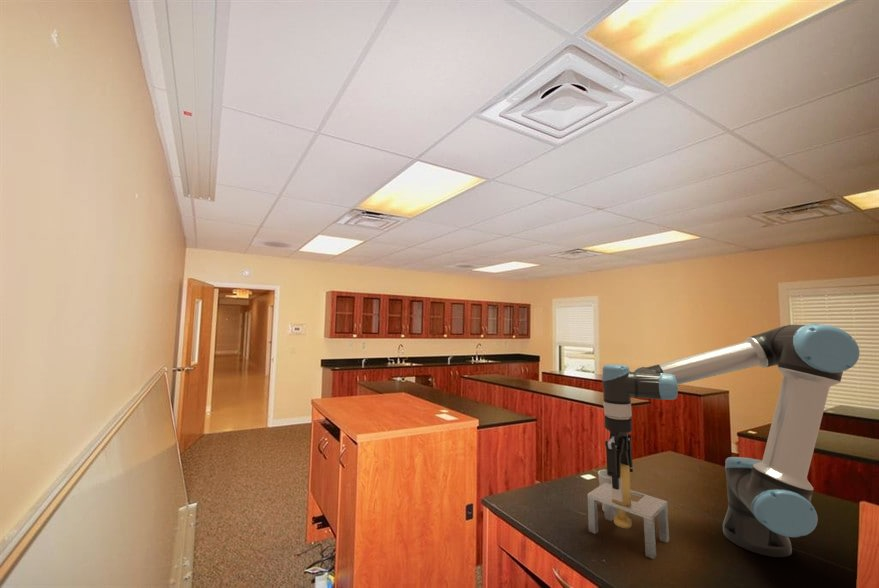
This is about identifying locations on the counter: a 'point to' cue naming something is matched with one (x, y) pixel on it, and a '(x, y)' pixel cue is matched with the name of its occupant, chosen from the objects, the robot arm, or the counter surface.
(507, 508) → the counter surface
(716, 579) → the counter surface
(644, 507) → the shelf
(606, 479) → the cup
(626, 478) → the yellow tall stemmed piece
